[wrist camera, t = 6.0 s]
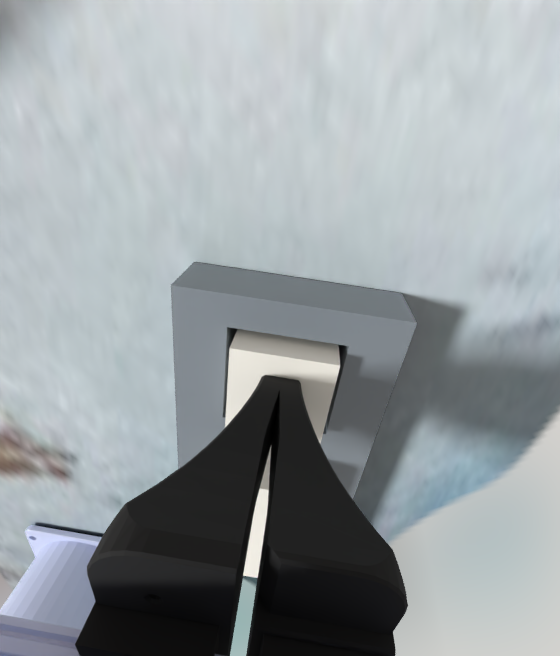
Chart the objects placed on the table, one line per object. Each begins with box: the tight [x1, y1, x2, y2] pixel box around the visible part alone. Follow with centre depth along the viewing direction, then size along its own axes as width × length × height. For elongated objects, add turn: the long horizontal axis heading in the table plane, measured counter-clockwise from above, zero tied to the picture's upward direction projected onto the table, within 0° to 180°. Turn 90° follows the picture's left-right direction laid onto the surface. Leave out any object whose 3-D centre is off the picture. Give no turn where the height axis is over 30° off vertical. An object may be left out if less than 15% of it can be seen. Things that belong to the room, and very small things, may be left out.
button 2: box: [225, 329, 340, 443], centre depth 14 cm, size 4×4×3 cm
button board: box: [171, 262, 417, 499], centre depth 17 cm, size 18×8×2 cm, turn 174°
